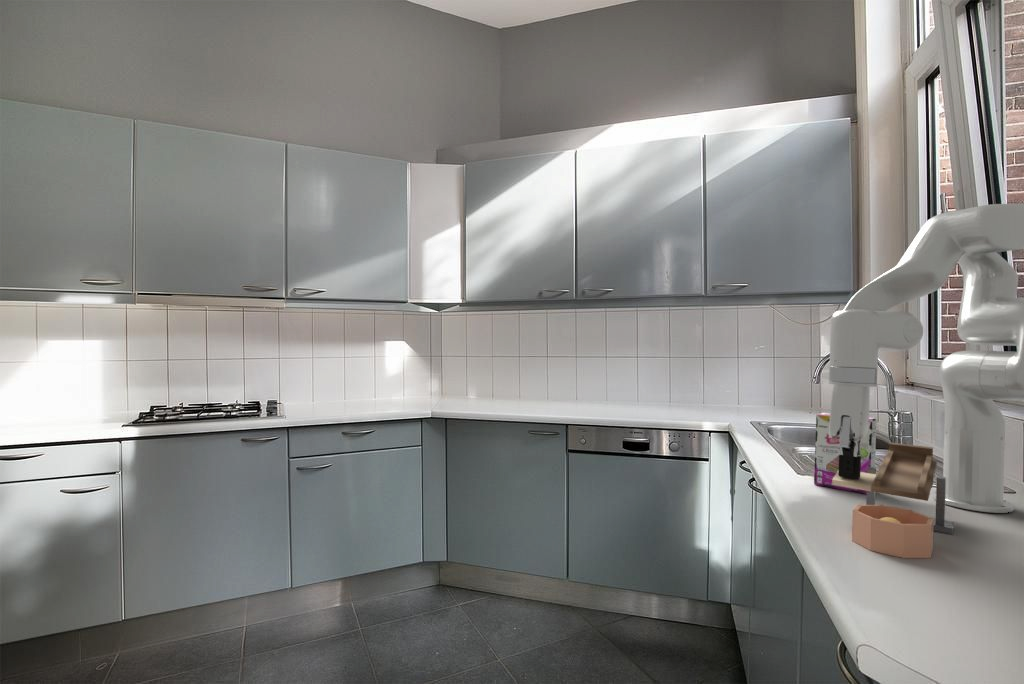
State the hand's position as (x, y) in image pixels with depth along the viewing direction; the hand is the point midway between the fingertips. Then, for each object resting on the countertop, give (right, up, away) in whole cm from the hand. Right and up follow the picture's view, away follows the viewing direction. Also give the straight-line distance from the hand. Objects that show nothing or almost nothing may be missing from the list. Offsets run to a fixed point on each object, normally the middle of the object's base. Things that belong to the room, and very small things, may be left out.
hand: (849, 477), depth 100 cm
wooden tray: (+8, -4, +3) cm, 10 cm away
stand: (+10, -8, 0) cm, 13 cm away
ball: (-2, -5, -14) cm, 15 cm away
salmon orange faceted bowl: (-1, -8, -12) cm, 15 cm away
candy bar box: (+13, -8, +23) cm, 28 cm away
